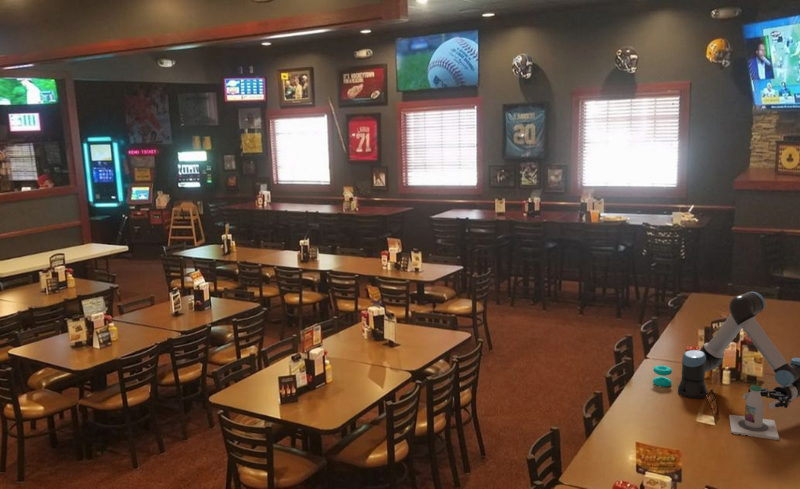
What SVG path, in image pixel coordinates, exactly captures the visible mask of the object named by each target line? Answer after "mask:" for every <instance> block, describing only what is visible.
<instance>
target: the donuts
mask: <svg viewBox="0 0 800 489" xmlns="http://www.w3.org/2000/svg"><path fill="white" fill-rule="evenodd" d="M652 371H653V372H654V373H655V374H656V375H659V376H656V377H654V378H653V379H652V383H653V384H654V386H658V387H660V386H661V387H662V388H666V387H667V388H668V387H671V385H672V380H671V379H670V378H668V377H666V376H669V375H671V374H673V370H672V368H671V367H669V366H667V365H655V366H654V367H653V370H652Z"/></svg>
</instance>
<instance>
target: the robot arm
mask: <svg viewBox="0 0 800 489" xmlns="http://www.w3.org/2000/svg"><path fill="white" fill-rule="evenodd" d="M765 307H766V300H765V298H764V296H762V294H761V293H758V292H756V291H747V292H745V293H742V294H739V295H736V296H735V297H734V296H733V298H732V299H731V300H730V302H729V305H728V308H729V309H728V310H729V312H730V315H729V316H727V319H726V320H725V321H724V322H723V323H722V325H721V326H720V327H719V329H718V331H717V332H716V333H715V335H714V336H713V337H712V338H711V340H710V341H709V342H704V344H703V345H702V347H701V348H700V349H699V350H697V349H692V350H691V349H690V350H686V351H685V352H684V353H683V354H682V358H681V362H682V364H681V365H682V366H681V379H680V382H679V384H678V386H677V394H679V395H680V396H681V397H685V398H688V399H689V398H690V399H699V400H700V399H705V398H706V395H707V393H708V391H709V390H708V388H707V385H706V382H705V379H706V373H707V372H709V371H711V370H712V371H713V370H714V369H717V368H718V367H719V366H720V365H721V364H722V363H723V358H724V357H725V351H726V349H727V348H728V347H729V345H730V344H731V343H732V342H733V340H734V339H735V338H736V336H737V335H738V334H739V333H740V332H741V331H742V330H743V331H744V332H745V334H746V335H747V336H748V338H749V340H750V341H751V342H752V343H753V345H754V346H755V347H756V349H757V350H758V352H759V354H761V355H762V357H763V359H765V361H766V363H767V364H768V366H769V367H770V368H771V369H772V371H773V372H774V379H775V381H776V383H777V384H778V385H779V386H776V387H775V388H774V389H771V390H769V389H768V388H767V387H764V388H761V392H760V394H761V397H762V398H763V397H765V398H769V399H774V400H776V401H772V402H770V403H768V404H769V405H768V410H773V409H775V408H783V407H784V408H785V409H788V407H789V404H790V403H792V399H796V398H799V397H800V357H792V358H791V359H790V363H788V361H787V360H786V359H785V358H784V356H783V355H782V354H781V352H780V351H779V349H778V347H777V346H776V345H775V344H774V343H773V342H772V340H771V339H770V337H769V336H768V334H767V333H766V332H765V330H764V329H763V327H762V326H761V325H760V324H759V322H758V321H757V315H758V314H760V313H762V312H763V311H764V310H765V309H766V308H765ZM750 392H751V390H750V388H748V391H747V392H745V393H743V395H742V396H743V398H742V399H743V400H747V398H748V396H749V395H750ZM707 396H708V395H707Z"/></svg>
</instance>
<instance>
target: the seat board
mask: <svg viewBox="0 0 800 489" xmlns="http://www.w3.org/2000/svg"><path fill="white" fill-rule="evenodd" d="M728 415H729V416H728V419H729V425H730V433H733V434H732V435H738V434H741V435H740V436H745V435H748V436H747V437H753V436H754V437H753V438H761V439H768V440H776V441H779V440H780V437H779V436H780V435H779V433H778V429H777V425H776V422H775V419H767V418H763V425H762V427H761V428H751V427H748V426H746V425H745V415H744V416H743V415H734V414H728Z"/></svg>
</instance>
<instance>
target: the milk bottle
mask: <svg viewBox="0 0 800 489" xmlns="http://www.w3.org/2000/svg"><path fill="white" fill-rule="evenodd" d="M749 389H750V390H751V392H750V395H749V396H748V398H747V399H745V400H746V401H745V411H744V417H745V425H746V426H748V427H751V428H761V427H762V425H763V419H764V406H765V405H764V400H763V396H761V394H760V392H761V389H762V386H760V385H756V384H751V385H750V388H749Z"/></svg>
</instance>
